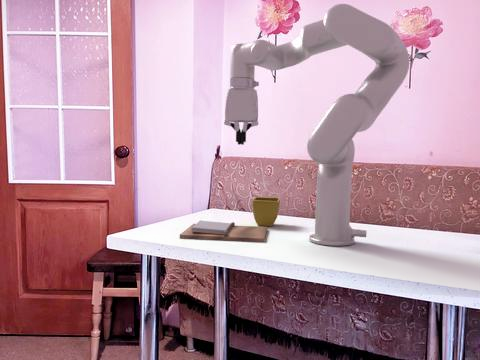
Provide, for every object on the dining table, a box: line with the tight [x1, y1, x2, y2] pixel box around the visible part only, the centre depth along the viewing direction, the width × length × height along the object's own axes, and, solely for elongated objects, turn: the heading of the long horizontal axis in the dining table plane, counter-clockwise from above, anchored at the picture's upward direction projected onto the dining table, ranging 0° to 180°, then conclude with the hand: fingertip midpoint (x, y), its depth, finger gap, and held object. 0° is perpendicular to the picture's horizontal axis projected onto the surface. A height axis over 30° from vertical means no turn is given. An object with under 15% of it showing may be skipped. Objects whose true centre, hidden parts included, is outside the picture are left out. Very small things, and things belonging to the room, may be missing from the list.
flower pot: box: [251, 196, 281, 227], centre depth 148 cm, size 9×9×9 cm
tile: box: [191, 220, 232, 234], centre depth 132 cm, size 10×12×1 cm
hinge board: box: [179, 221, 268, 243], centre depth 132 cm, size 24×18×2 cm
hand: (240, 144), depth 138 cm, fingers closed
